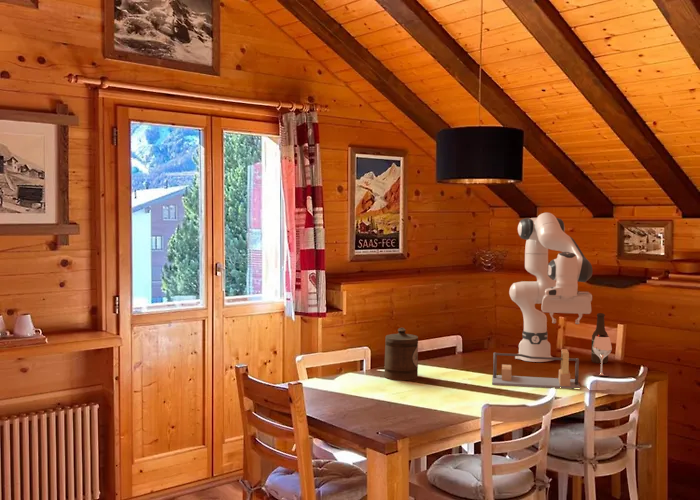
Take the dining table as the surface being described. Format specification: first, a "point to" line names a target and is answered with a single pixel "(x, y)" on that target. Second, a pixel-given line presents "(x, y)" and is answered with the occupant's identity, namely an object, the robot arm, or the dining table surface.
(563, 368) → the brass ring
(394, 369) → the wooden container
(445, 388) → the dining table surface
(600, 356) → the wineglass
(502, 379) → the stand
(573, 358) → the rod
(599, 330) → the beer bottle
